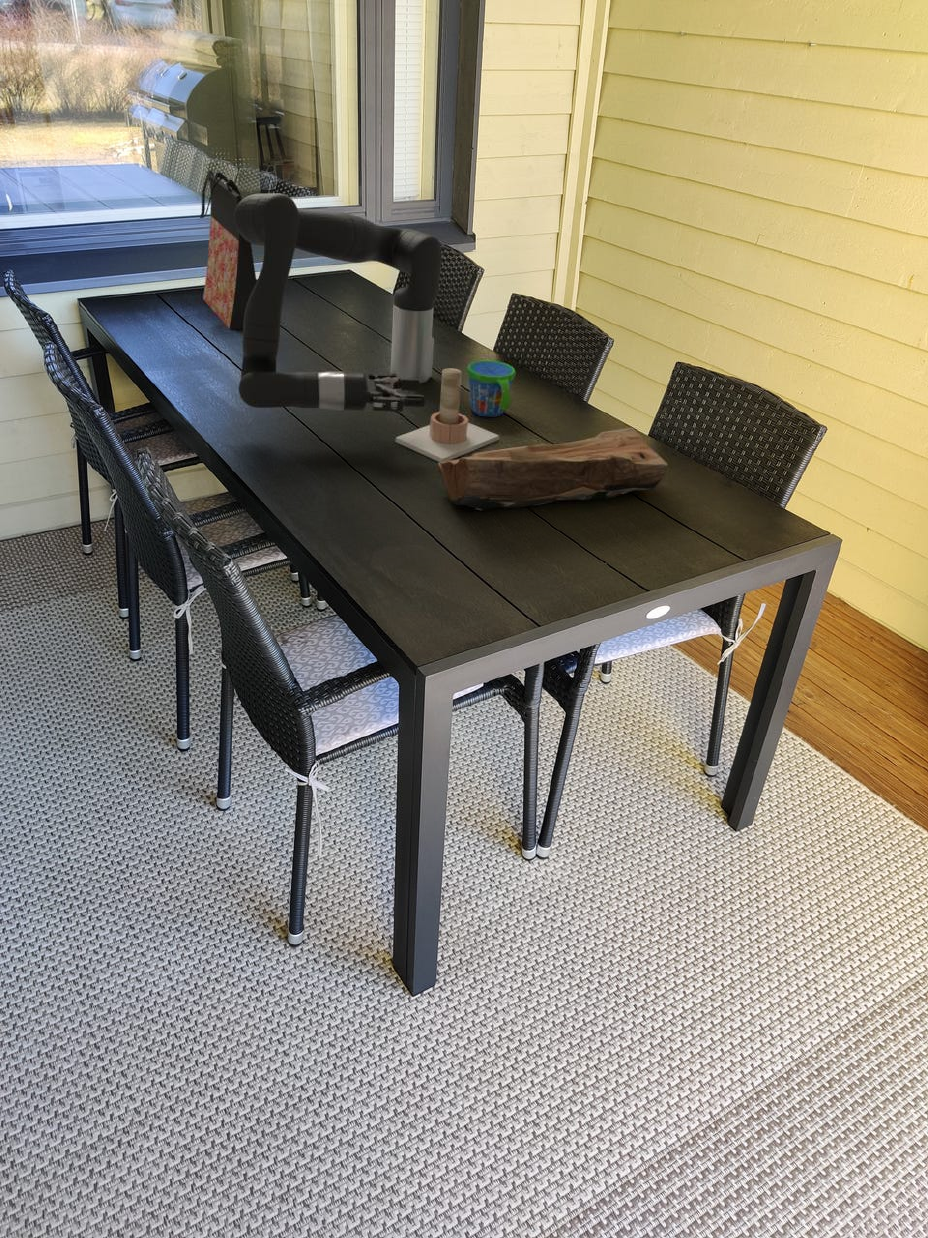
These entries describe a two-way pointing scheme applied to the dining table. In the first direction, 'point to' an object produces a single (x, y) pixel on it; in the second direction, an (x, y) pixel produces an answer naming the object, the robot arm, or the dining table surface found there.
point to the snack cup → (490, 387)
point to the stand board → (446, 452)
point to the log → (554, 472)
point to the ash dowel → (450, 396)
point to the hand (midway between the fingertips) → (421, 392)
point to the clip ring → (448, 430)
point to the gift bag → (227, 255)
